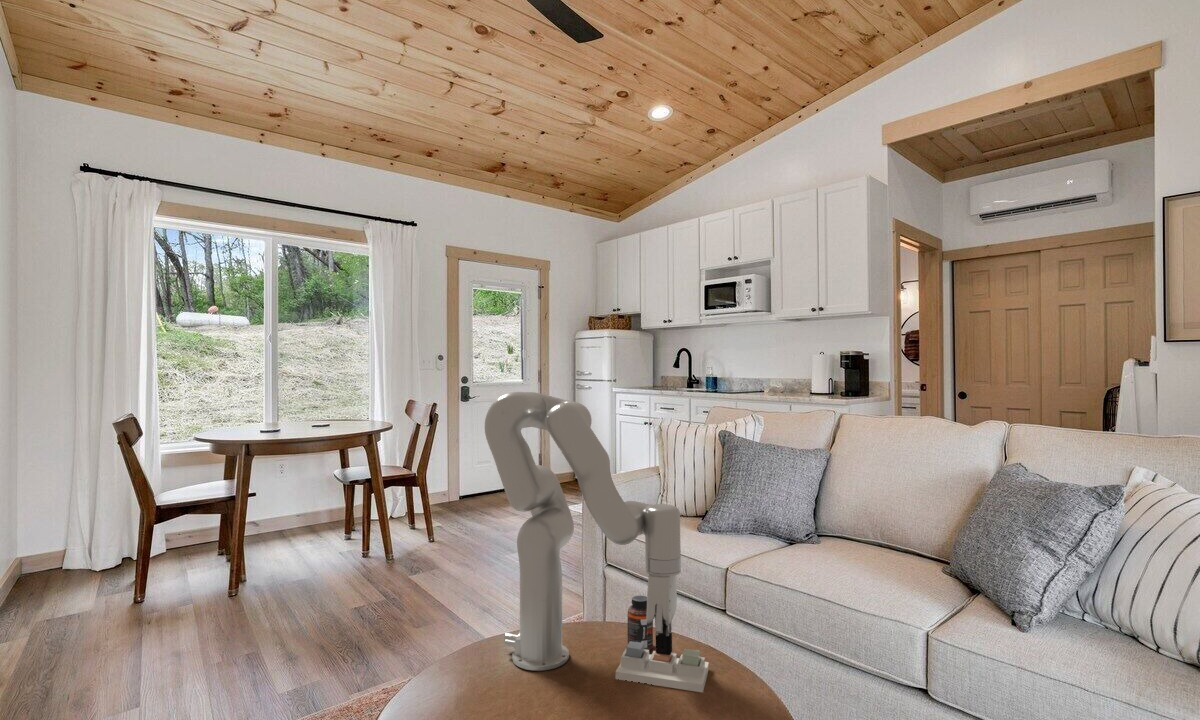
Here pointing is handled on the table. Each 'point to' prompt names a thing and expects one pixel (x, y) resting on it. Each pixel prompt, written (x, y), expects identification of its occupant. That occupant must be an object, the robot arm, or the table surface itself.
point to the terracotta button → (662, 657)
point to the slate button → (635, 649)
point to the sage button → (691, 657)
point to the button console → (663, 672)
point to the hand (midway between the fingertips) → (664, 652)
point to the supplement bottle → (639, 623)
